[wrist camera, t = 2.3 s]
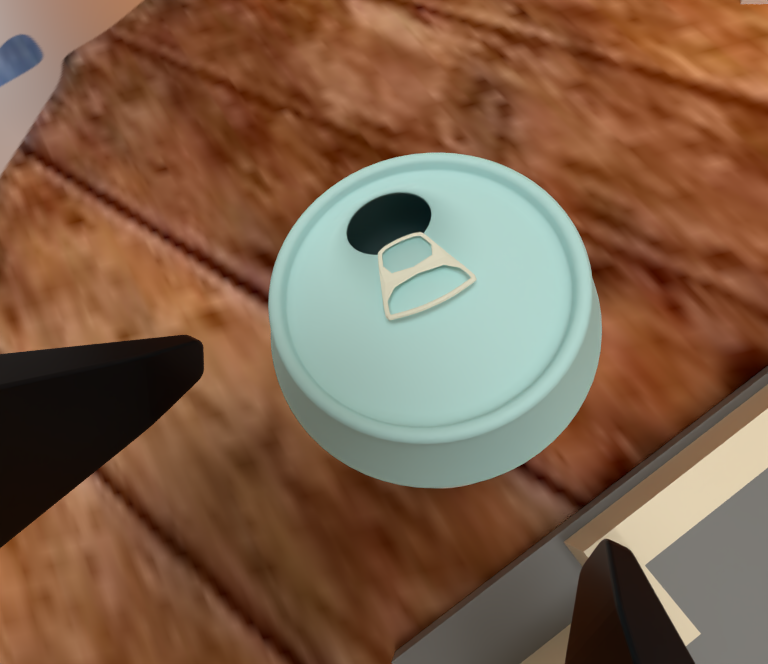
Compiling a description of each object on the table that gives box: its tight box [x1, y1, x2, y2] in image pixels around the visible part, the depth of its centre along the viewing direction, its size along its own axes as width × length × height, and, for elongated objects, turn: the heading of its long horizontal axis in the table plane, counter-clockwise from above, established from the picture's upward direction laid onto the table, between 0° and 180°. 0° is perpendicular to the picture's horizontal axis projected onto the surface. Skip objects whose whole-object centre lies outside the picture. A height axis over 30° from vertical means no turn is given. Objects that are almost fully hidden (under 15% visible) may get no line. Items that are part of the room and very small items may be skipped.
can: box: [268, 153, 602, 488], centre depth 13 cm, size 7×7×12 cm
